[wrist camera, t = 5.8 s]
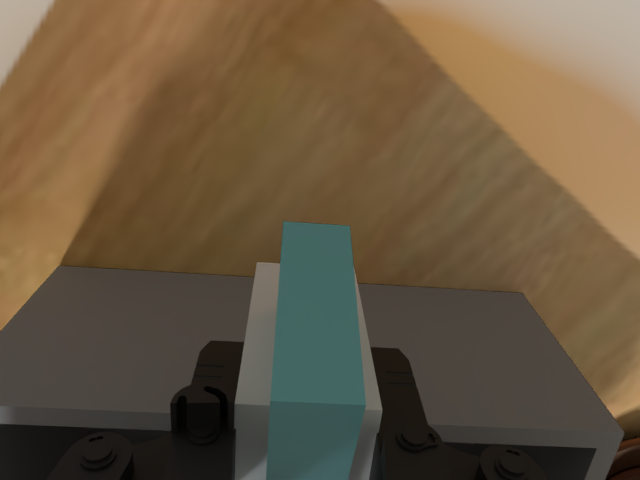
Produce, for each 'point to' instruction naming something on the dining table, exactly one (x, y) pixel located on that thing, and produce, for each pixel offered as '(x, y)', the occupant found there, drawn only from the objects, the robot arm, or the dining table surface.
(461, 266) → the dining table surface
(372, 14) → the dining table surface
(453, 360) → the carton
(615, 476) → the cup and saucer
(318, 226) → the carton lid
